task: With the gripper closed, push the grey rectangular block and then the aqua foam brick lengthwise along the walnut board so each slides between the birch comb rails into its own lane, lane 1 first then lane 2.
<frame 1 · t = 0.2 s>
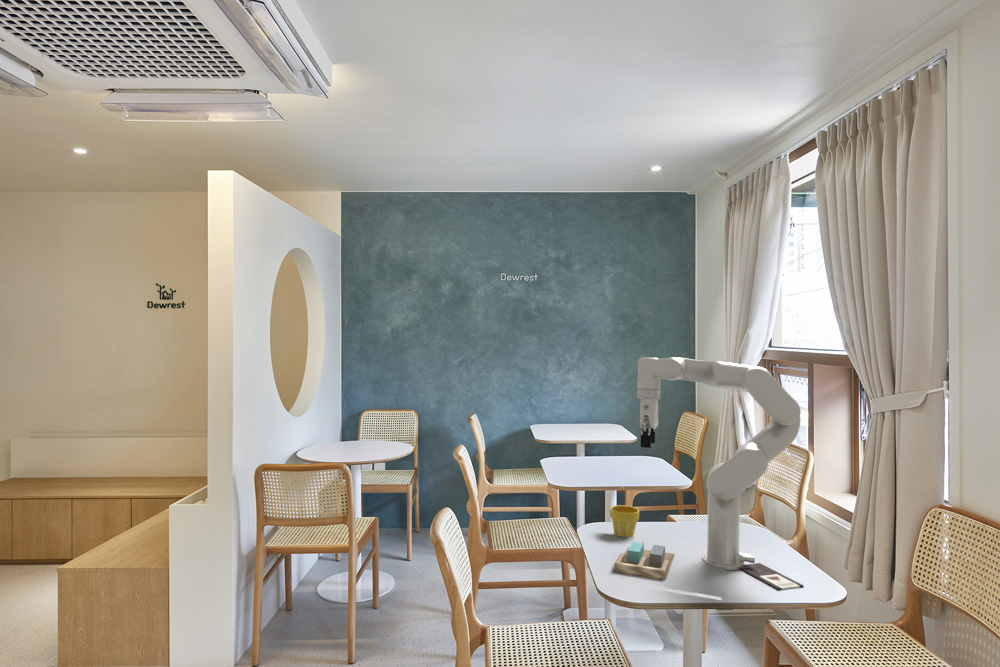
hand: (647, 445, 200), 36 cm above the table, tool pointing down, fingers open, 9 cm apart
aqua foam brick: (635, 557, 192), point 1 cm above the table, touching comb board
grey rectangular block: (657, 560, 189), point 1 cm above the table, touching comb board
chocolate bar: (768, 578, 180), on the table
comb board: (645, 565, 188), on the table
plant pot: (624, 536, 216), on the table
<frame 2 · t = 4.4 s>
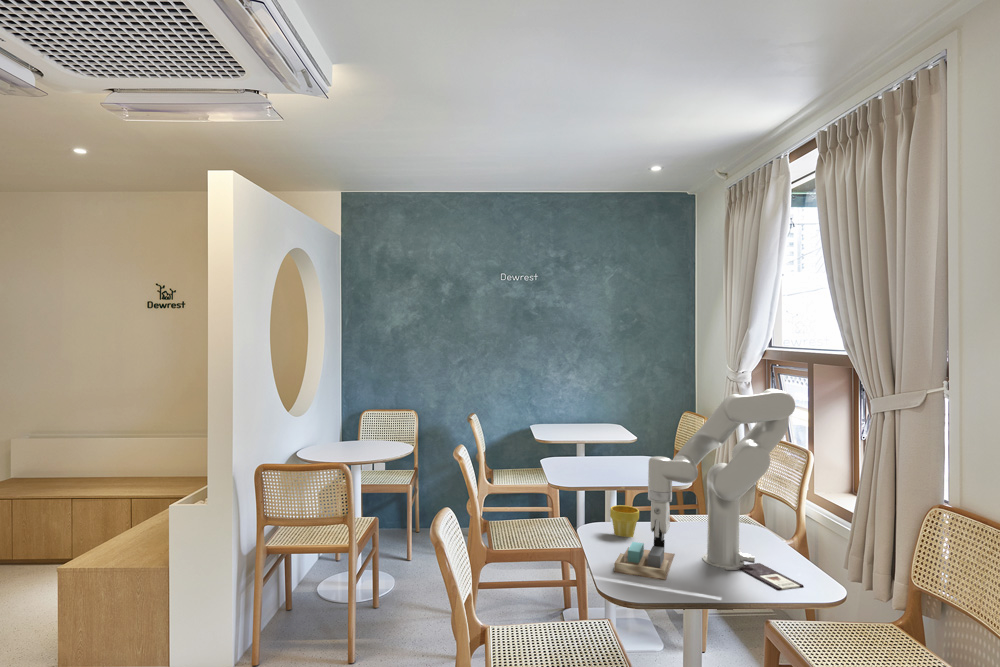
hand: (658, 551, 194), 2 cm above the table, tool pointing down, fingers closed
grey rectangular block: (656, 562, 188), point 1 cm above the table, touching comb board, gripper
everything else where it was.
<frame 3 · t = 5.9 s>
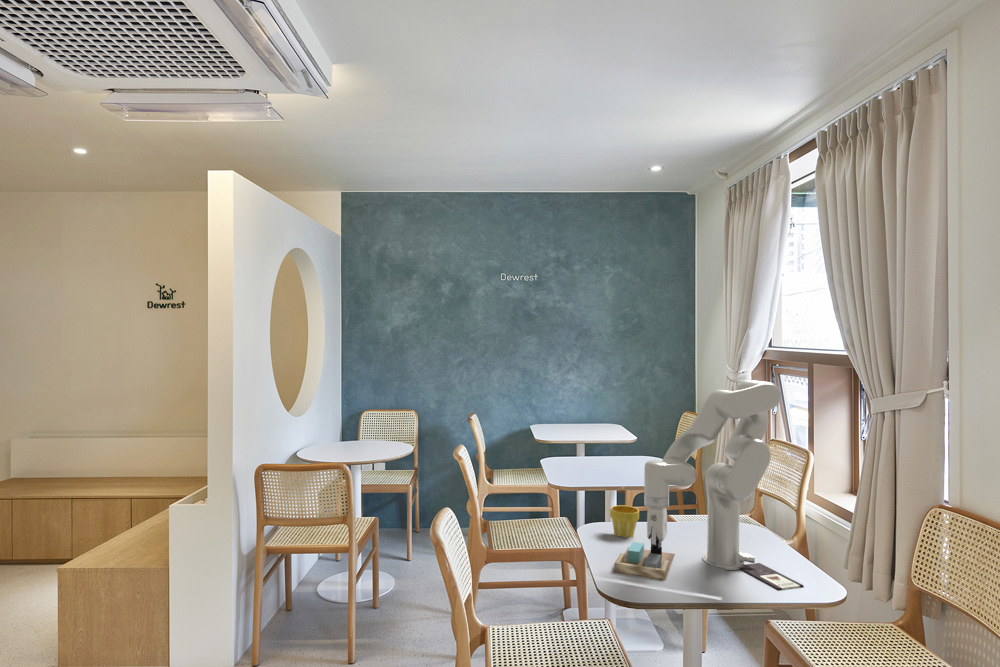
hand: (656, 559, 187), 2 cm above the table, tool pointing down, fingers closed
grey rectangular block: (652, 570, 181), point 1 cm above the table, touching comb board, gripper
everything else where it was.
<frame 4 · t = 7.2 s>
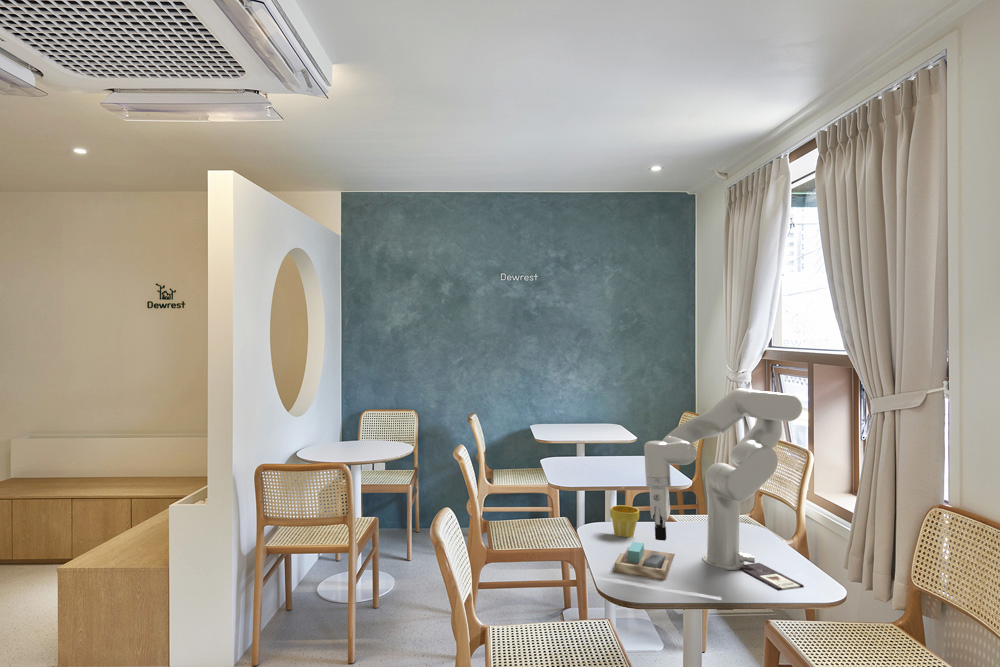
hand: (660, 539, 187), 8 cm above the table, tool pointing down, fingers closed
grey rectangular block: (654, 570, 181), point 1 cm above the table, touching comb board
everything else where it was.
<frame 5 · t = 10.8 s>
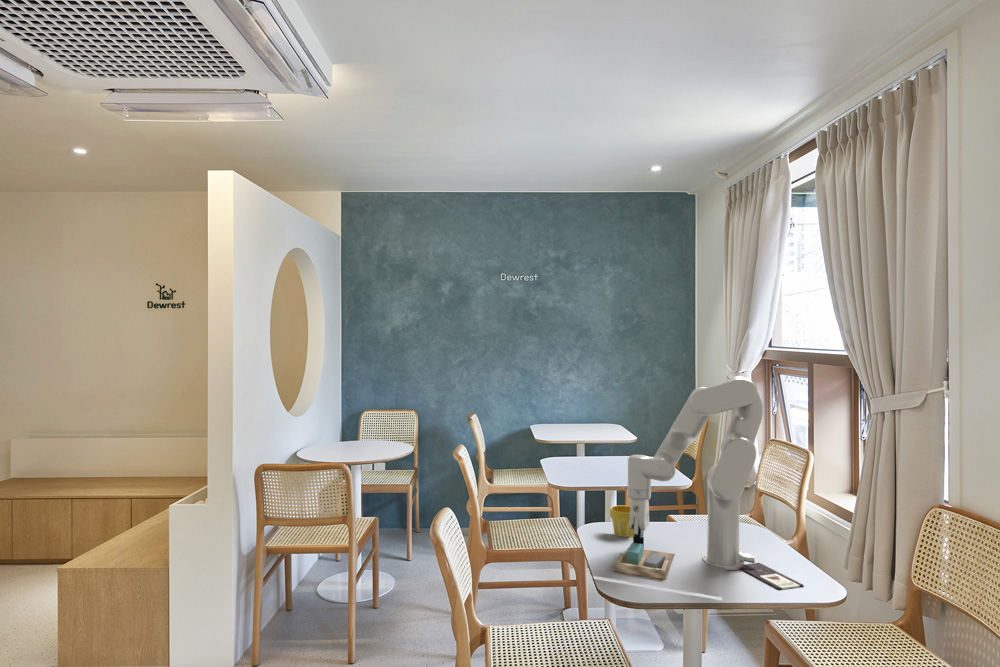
hand: (638, 548, 197), 2 cm above the table, tool pointing down, fingers closed
aqua foam brick: (634, 558, 191), point 1 cm above the table, touching comb board, gripper
everything else where it was.
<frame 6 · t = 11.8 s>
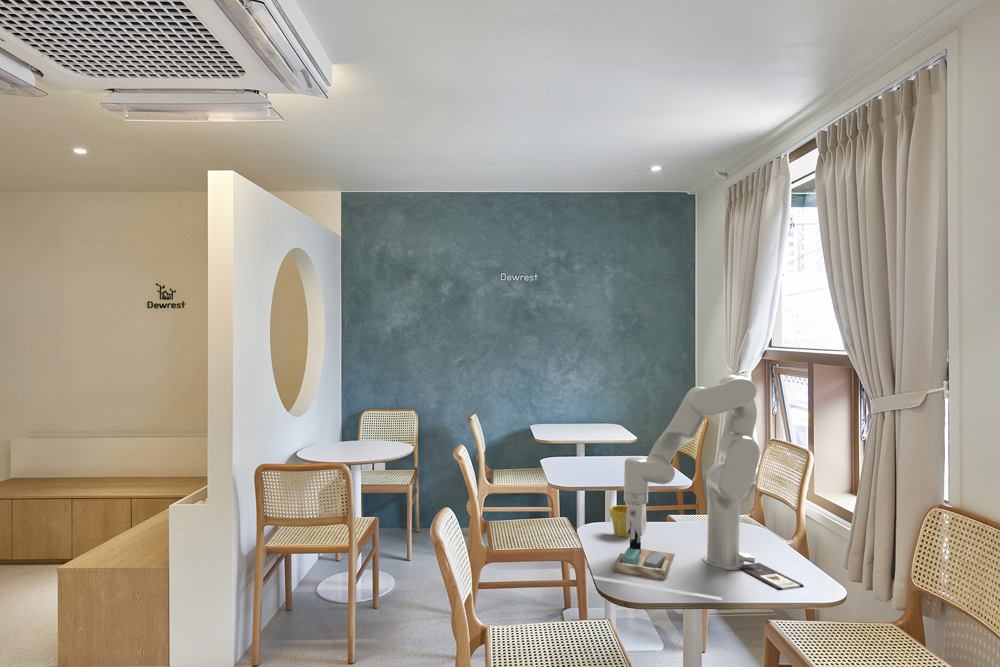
hand: (635, 554, 192), 2 cm above the table, tool pointing down, fingers closed
aqua foam brick: (630, 564, 186), point 1 cm above the table, touching gripper
everything else where it was.
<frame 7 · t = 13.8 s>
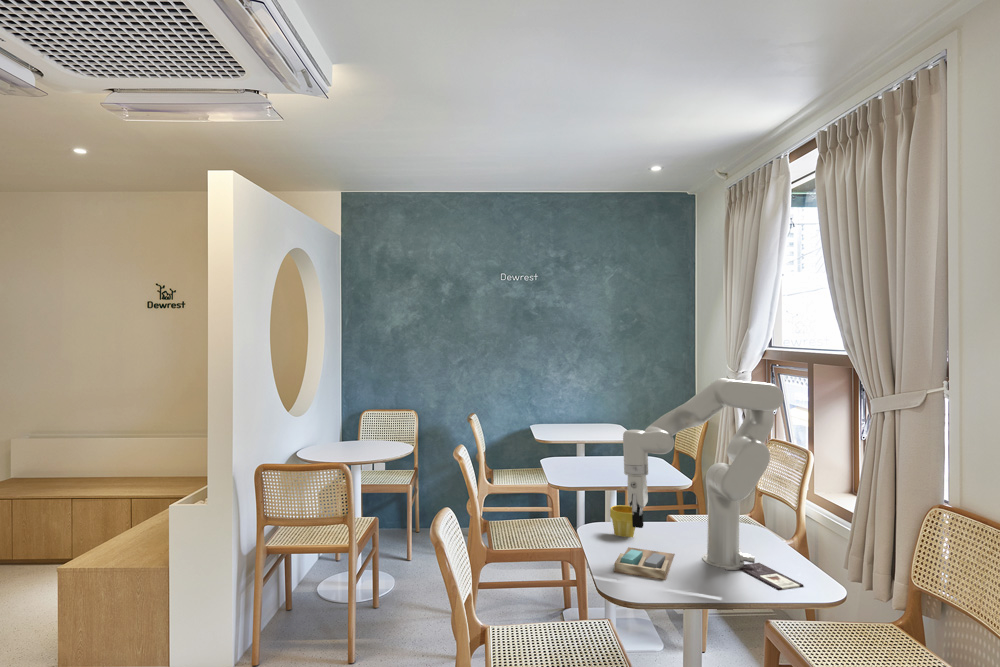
hand: (638, 526, 190), 11 cm above the table, tool pointing down, fingers closed
aqua foam brick: (632, 565, 185), point 1 cm above the table, touching comb board
everything else where it was.
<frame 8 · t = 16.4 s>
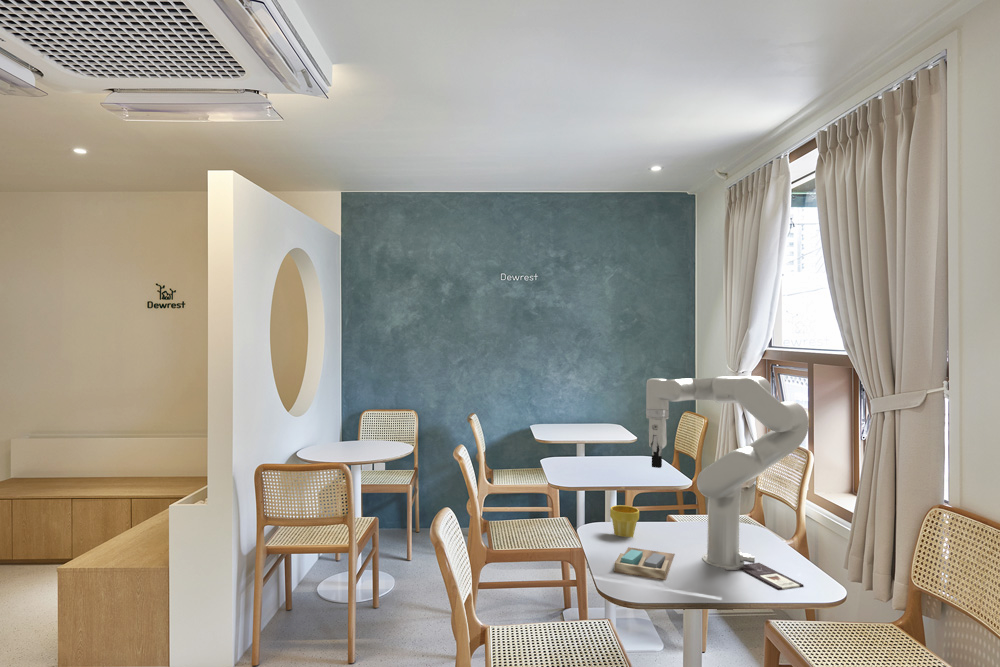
hand: (656, 467, 206), 27 cm above the table, tool pointing down, fingers closed
nothing on the table moved.
at the end: grey rectangular block 0.7 cm from the target spot, point 0.8 cm above the table; aqua foam brick 1.1 cm from the target spot, point 0.8 cm above the table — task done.
